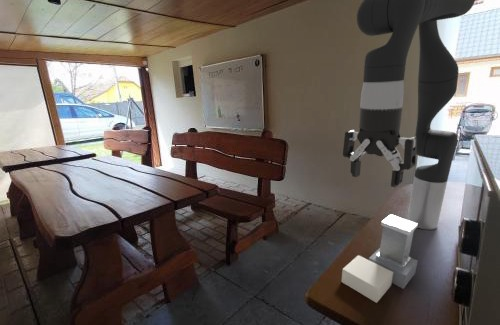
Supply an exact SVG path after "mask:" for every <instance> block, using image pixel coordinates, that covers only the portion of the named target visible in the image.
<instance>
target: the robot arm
mask: <svg viewBox="0 0 500 325" xmlns="http://www.w3.org/2000/svg"><path fill="white" fill-rule="evenodd" d="M475 2H476V0H363V1H362V2H361V3H360V5H359V7H358V9H357V13H356V24H357V26H358V29H359V30H360V32H361V33H363V34H365V35H366V36H370V37H373V36H380V35H381V36H382V35H386V34H391V36H390V37H389V39H388V41H387V43H385V44H383V46H380V47H377V48H373V49H371V50H370V51H368V52H367V54H366V55H365V57H364V65H363V66H364V67H363V68H364V69H363V83H362V88H361V95H360V102H359V103H360V106H359V108H360V109H359V121H358V122H359V123H358V124H359V125H358V127H359V131H356V130H355V129H350V130H348V131H345V132H344V141H343V147H342V148H343V149H342V156H343V157H344V158H348V159H349V161H350V174H351V176H352V177H353V178H357V177H360V175H361V169H362V168H361V167H362V166H361V164H362V160H361V158H362V156H364V155H365V154H368V155H375V156H377V157H384V158H385V159H386V161H387V162H389V164H390V165H391V167H392V168H393V169H392V171H391V172H392V173H391V180H390V187H392V188H397V187H398V186H399V185H401V184H402V183H403V179H404V172H405V171H404V170H407V171H408V170H411V168H413V167H416V164H417V156H418V157H422V158H427V159H433V160H437V163H434V164H429V165H427V164H426V165H421V166H418V167H416V168H415V170H414V176H413V182H412V186H411V187H412V189H411V193H410V197H409V198H410V199H409V205H408V209H407V215H406V220H409V221H412V222H415V223H418V226H417V228H418V229H422V230H426V231H427V230H429V231H430V230H435V229H436V228H438V224H439V221H440V215H441V212H442V206H443V202H444V197H445V193H446V189H447V183H448V180H449V175H450V171H451V167H452V162H453V159H454V156H455V152H456V149H457V145H458V139H459V138H458V134H457V133H456V132H453V131H448V130H439V129H438V130H437V129H432V128H431V125H432V122H433V120H434V119H435V117H436V116H437V115H438V114H439V112H440V111H441V110H442V109H444V107H446V105H447V104H449V102H450V101H451V100H452V98H454V96H455V94H456V92H457V87H458V81H459V80H458V79H459V66H458V62H457V61H456V60H455V58H454V57H453V55H452V54H451V53H450V51H449V50H448V48H447V47H446V45H445V44H444V43H443V41H442V39H441V37H440V33H439V29H438V21H441V20H448V19H453V18H457V17H460V16H463V15H465V14H467V13H468V12H469V11H470V10H471V9H472V7H473V6H474V4H475ZM417 29H418V35H419V36H418V37H419V59H418V60H419V61H418V62H419V63H418V64H419V65H418V74H417V76H418V77H417V80H418V81H417V117H416V118H417V119H416V128H415V135H414V136H412V137H403V136H401V134H400V129H401V124H402V123H401V122H402V115H403V106H404V95H405V92H404V91H405V86H404V85H405V84H404V83H405V81H404V80H405V74H406V73H405V72H406V65H407V57H408V54H409V51H410V48H411V44H412V41H413V39H414V36H415V34H416V31H417ZM356 140H358V142H359V144H360V145H359V146H358V147H357V148H356V149H355V142H356ZM399 144H400V145H401V148H402V149H403V150H404V151H403V152H404V155H403V158H402V157H401V153H400V151H399V150H398V148H397V147H398V146H399Z"/></svg>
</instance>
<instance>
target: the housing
mask: <svg viewBox="0 0 500 325" xmlns="http://www.w3.org/2000/svg"><path fill="white" fill-rule="evenodd" d="M380 225H381V226H382V234H381V240H380V245H379V246H380V247H379V248H380V252H379V253H378V254H377V255H376V258H377V259H379V260H381V261H383V262H386V263H388V264H390V265H392V266H394V267H396V268H398V269H400V270H403V269H404V268H405V267H406V266H407V264H408V263H409V262H410V261H411V258H412V257H411V256H410V254H411V253H410V252H411V247H412V243H413V238H414V232H415V230H416V229H417V228H418V227H417V226H418V223H415V222H412V221H409V220H407V218H402V217H400V216H397V215H394V214H392V213H391V214H389V215H388V216H386V217H385V218H384V219H383V220H381V223H380Z"/></svg>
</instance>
